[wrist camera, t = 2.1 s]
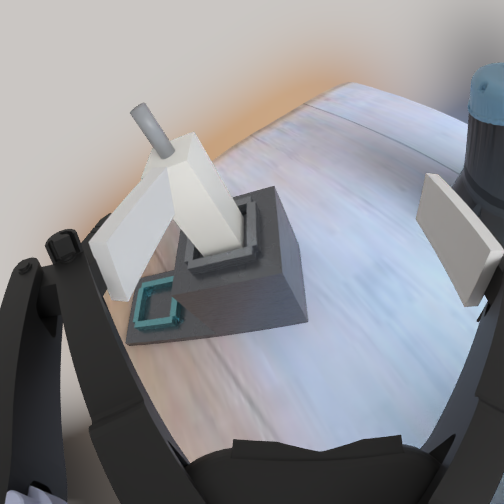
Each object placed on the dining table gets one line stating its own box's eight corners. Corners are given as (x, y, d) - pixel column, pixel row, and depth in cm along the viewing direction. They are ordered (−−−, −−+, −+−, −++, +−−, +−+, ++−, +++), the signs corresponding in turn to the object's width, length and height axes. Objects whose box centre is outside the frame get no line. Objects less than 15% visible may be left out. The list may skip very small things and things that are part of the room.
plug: (208, 222, 36) (126, 103, 23) (243, 212, 35) (169, 82, 22) (205, 258, 33) (107, 133, 20) (243, 249, 32) (154, 109, 19)
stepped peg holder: (141, 278, 53) (92, 234, 43) (298, 242, 45) (270, 175, 35) (129, 345, 45) (69, 308, 35) (308, 321, 38) (278, 266, 28)
